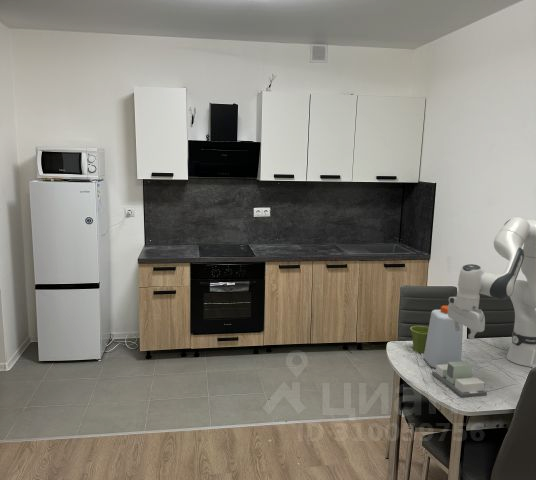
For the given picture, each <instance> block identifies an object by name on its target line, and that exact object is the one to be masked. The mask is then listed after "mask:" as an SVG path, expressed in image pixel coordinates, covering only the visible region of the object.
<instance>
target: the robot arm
mask: <svg viewBox="0 0 536 480" xmlns="http://www.w3.org/2000/svg"><path fill="white" fill-rule="evenodd" d="M522 247H523V248H522ZM493 248H494V250H495V251H496V252H497V254H498V255H499V256H501V257H502V258H503V259H506V260H507V261H508V263H507V266H506V267H505V270H504V273H501V274H498V273H493V272H489V271H485V270H483V269H482V267H481V266H480V265H478V264H473V263H472V264H470V263H469V264H465V265H464V264H463V266H462V267H461V269H460V271H459V276H458V280H457V281H458V283H457V287H458V290H457V294H456V296H449V297H448V305H447V306H448V317H449V318H451V319H453V323H454V326H455V327H454V330H455V331H460V327H459V323H460V324H462V325H463V327H466V328H468V329H469V330H470V333H469V334H468V336H467V338H468V339H470V340H474V339H475V335H477V333H483V332H484V331H485V327H486V319H485V318H486V317H485V314H484V312H483V310H482V309H481V308H479V307H480V306H479V305H480V299H481V297H480V295H484V296H488V297H491V298H493V299H497V300H499V301H504V300H507V299H508V298H509V299H510V300H511V303H512V305H513V310H514V311H513V312H514V326H513V330H512V332H511V333H512V334H511V341H510V345H509V349H508V351H507V354H506V359H507V360H508V361H510V362H511V363H514V364H516V365H520V366H523V367H524V366H525V367H528V368H529V367H530V368H533V367H536V219H526V218H524V217H519V216H516V217H511V219H509V220H507V221H505V223H504V224H503V225H502V227H501V228H500V230H499V231H498V232H497V234H496V235H495V237H494V240H493ZM520 271H521V273H522V274H523V275H524V277H525V279H526V280H524V279H517V278H518V276H519V273H520ZM458 322H459V323H458Z"/></svg>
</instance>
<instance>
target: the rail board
mask: <svg viewBox="0 0 536 480" xmlns="http://www.w3.org/2000/svg"><path fill="white" fill-rule="evenodd" d="M447 367H448V364H442V365H436V368H435V371H432V372H431V375H432V376H433V377H434V378H435V379H436V380H437V381H439V382H440V383H441V384H443V385H444V386H445V387H446V388H448V389H449V390H450V391H451V392H453V393H454V394H455V395H457V396H458V397H460V398H461V399H464V398H475V397H486V396H488V395H487V391H486V390H485V389H484V386H485V382H484V381H482V380H481V379H479V378H478V377H471V378H463V379H455V384H451V383H450V382H449V381H447V380H446V376H447Z"/></svg>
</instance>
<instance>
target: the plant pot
mask: <svg viewBox="0 0 536 480" xmlns="http://www.w3.org/2000/svg"><path fill="white" fill-rule="evenodd" d="M409 329H410V331H411V337H412V338H411V339H412V346H413V347H412V348H413V351H415V352H416V353H418V354H424V351H425V346H426V340H427V334H428V329H429V326H426V325H425V326H424V325H413V326H410V328H409Z"/></svg>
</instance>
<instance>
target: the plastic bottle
mask: <svg viewBox="0 0 536 480" xmlns="http://www.w3.org/2000/svg"><path fill="white" fill-rule="evenodd" d="M458 323H459V322H458ZM428 327H429V329H428V334H427V340H426V346H425V351H424V353H423V359H424V361H426V363H427V364H428V365H429V366H430V367H431V368H433V369H436V365H442V364H448V362H457V361H463V360H462V359H463V337H464V336H463V331H464V325H462V324H460V323H459V327H460V331H455V330H454V327H455V326H454V323H453V319H451V318H449V317H448V305H442V306H440V309H433V310H432V311H431V313H430V318H429V325H428Z"/></svg>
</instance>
